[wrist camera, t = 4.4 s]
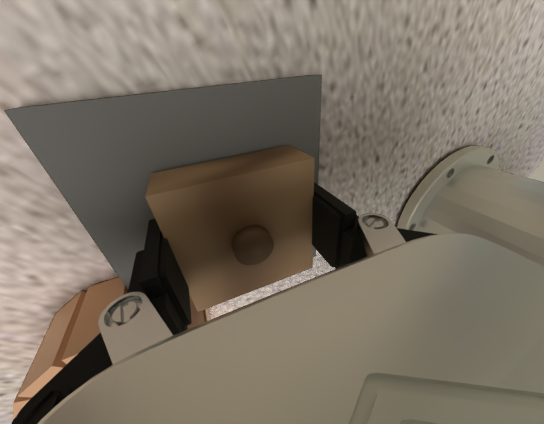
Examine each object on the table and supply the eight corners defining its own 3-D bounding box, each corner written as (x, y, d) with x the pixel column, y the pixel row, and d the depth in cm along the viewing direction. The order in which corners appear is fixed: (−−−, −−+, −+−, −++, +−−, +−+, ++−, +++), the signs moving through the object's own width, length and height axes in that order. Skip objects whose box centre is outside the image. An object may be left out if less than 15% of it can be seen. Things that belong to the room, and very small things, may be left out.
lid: (289, 145, 11) (322, 161, 9) (293, 243, 15) (317, 274, 12) (150, 173, 9) (143, 204, 7) (193, 277, 13) (198, 322, 10)
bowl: (187, 254, 13) (194, 307, 10) (217, 329, 18) (229, 382, 15) (11, 311, 11) (-51, 405, 8) (99, 382, 16) (83, 458, 12)
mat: (310, 75, 11) (321, 74, 10) (308, 248, 18) (315, 255, 17) (19, 107, 8) (4, 109, 7) (150, 308, 14) (149, 321, 13)
